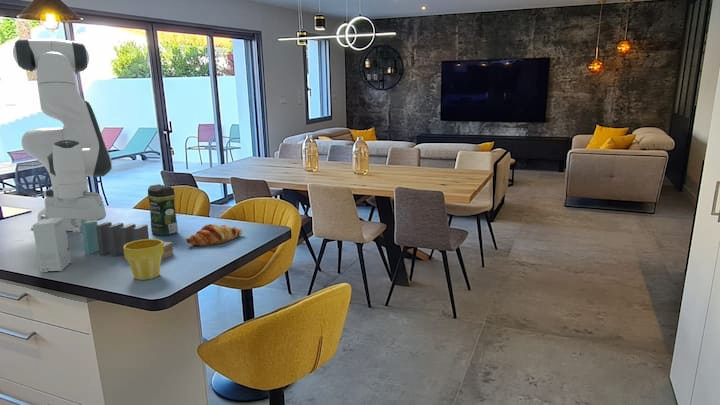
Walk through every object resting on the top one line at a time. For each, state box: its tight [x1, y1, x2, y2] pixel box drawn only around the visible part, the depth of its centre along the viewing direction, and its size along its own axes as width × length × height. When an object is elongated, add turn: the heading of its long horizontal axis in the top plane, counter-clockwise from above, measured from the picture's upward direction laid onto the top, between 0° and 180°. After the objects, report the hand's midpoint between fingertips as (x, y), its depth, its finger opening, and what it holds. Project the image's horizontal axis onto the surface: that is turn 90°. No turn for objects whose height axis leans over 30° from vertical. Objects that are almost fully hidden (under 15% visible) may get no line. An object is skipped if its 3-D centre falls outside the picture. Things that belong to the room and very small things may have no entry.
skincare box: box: [32, 217, 72, 273], centre depth 140 cm, size 8×6×15 cm
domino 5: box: [133, 224, 150, 241], centre depth 152 cm, size 2×5×10 cm, turn 168°
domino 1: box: [81, 221, 99, 255], centre depth 155 cm, size 2×5×10 cm, turn 168°
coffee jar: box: [147, 184, 179, 237], centre depth 176 cm, size 10×8×19 cm
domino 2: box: [96, 221, 113, 257], centre depth 154 cm, size 2×5×10 cm, turn 168°
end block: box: [161, 241, 174, 261], centre depth 151 cm, size 4×8×4 cm, turn 168°
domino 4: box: [121, 223, 137, 259], centre depth 152 cm, size 2×5×10 cm, turn 168°
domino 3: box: [108, 222, 125, 258], centre depth 153 cm, size 2×5×10 cm, turn 168°
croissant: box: [185, 223, 243, 246], centre depth 168 cm, size 21×10×8 cm, turn 134°
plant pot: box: [123, 238, 164, 281], centre depth 135 cm, size 10×10×10 cm
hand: (78, 231), depth 156 cm, fingers closed
